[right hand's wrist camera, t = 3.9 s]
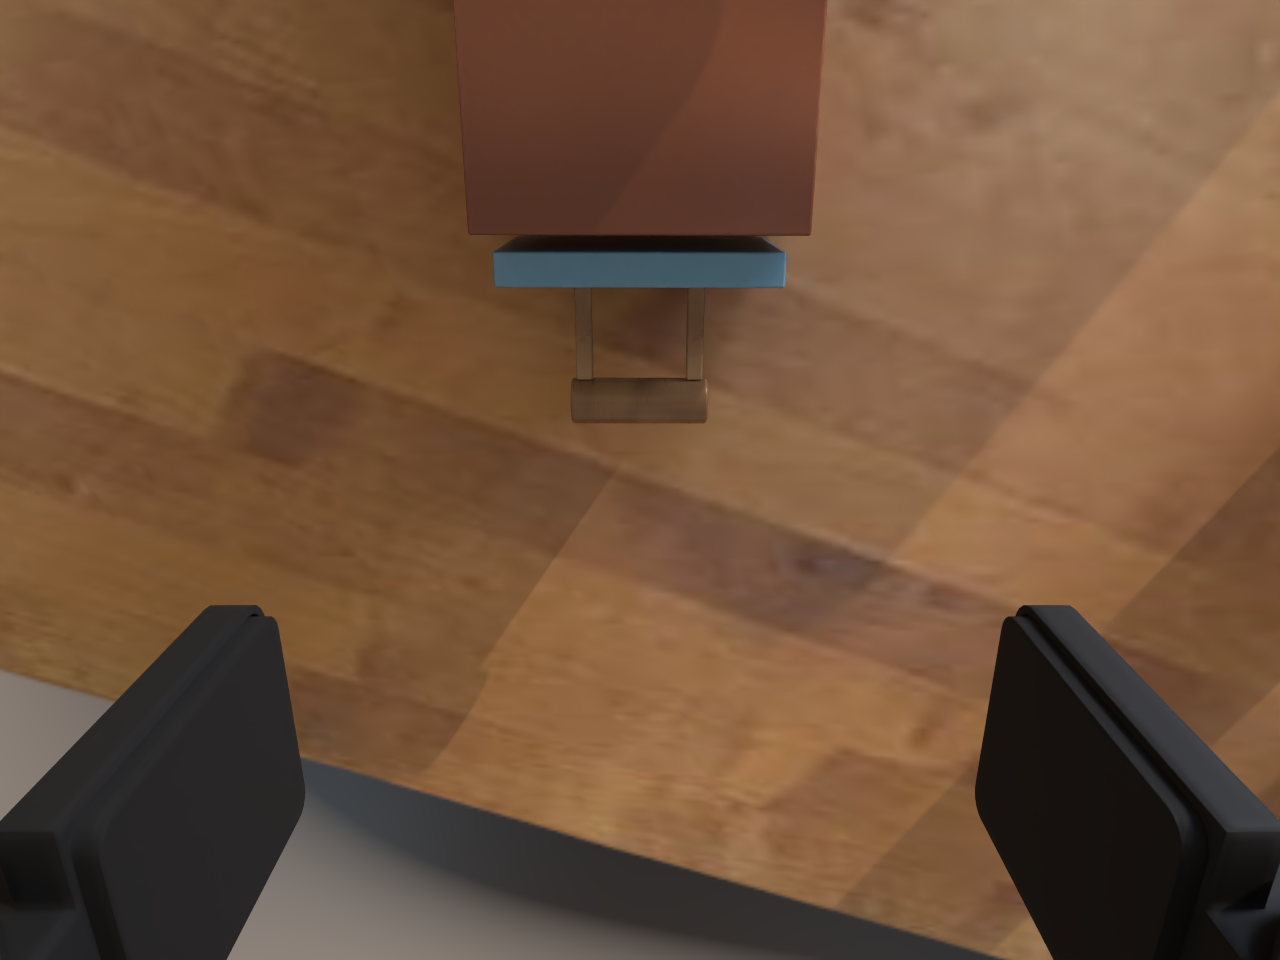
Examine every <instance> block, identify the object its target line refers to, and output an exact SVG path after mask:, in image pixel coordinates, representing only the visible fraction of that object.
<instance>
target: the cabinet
mask: <svg viewBox="0 0 1280 960" xmlns="http://www.w3.org/2000/svg"><path fill="white" fill-rule="evenodd" d="M453 5H454V20H455V36H456V51H457V67H458V82H459V97H460V113H461V128H462V144H463V159H464V174H465V190H466V205H467V221H468V233H469V234H470V235H713V236H809V235H810V234H811V228H812V213H813V199H814V184H815V170H816V155H817V141H818V127H819V112H820V98H821V83H822V69H823V54H824V40H825V26H826V11H827V0H453Z"/></svg>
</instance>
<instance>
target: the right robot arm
mask: <svg viewBox="0 0 1280 960" xmlns="http://www.w3.org/2000/svg"><path fill="white" fill-rule="evenodd" d="M304 799H305V785H304V779H303V773H302V767H301V761H300V755H299V749H298V743H297V737H296V731H295V725H294V719H293V713H292V707H291V701H290V695H289V689H288V683H287V677H286V671H285V665H284V659H283V653H282V647H281V641H280V635H279V629H278V625H277V622H276V620H275V619H274V618H273V617H265V616H264V613H263V612H262V610H261V608H260V607H258V606H257V605H214V606H209V607H208V608H206V609H205V610H204V611H203V612H202V613H201V614H200V615H199V616H198V617H197V618H196V619H195V620H194V621H193V622H192V623H191V624H190V625H189V626H188V627H187V628H186V629H185V630H184V632H183V633H182V634H181V635H180V636H179V637H178V638H177V639H176V640H175V641H174V642H173V643H172V644H171V645H170V646H169V647H168V648H167V649H166V650H165V651H164V652H163V653H162V654H161V655H160V656H159V657H158V658H157V659H156V660H155V662H154V663H153V664H152V665H151V666H150V667H149V668H148V669H147V670H146V671H145V672H144V673H143V674H142V675H141V676H140V677H139V678H138V679H137V680H136V681H135V682H134V683H133V684H132V685H131V686H130V687H129V688H128V689H127V690H126V692H125V693H124V694H123V695H122V696H121V697H120V698H119V699H118V700H117V701H116V702H115V703H114V704H113V705H112V706H111V707H110V708H109V709H108V710H107V711H106V712H105V713H104V714H103V715H102V716H101V718H99V719H98V721H97V722H96V723H95V724H94V725H93V726H92V727H91V728H90V729H89V730H88V731H87V732H86V733H85V734H84V735H83V736H82V737H81V738H80V739H79V740H78V741H77V742H76V743H75V744H74V745H73V746H72V747H71V748H70V750H68V752H67V753H66V754H65V755H64V756H63V757H62V758H61V759H60V760H59V761H58V762H57V763H56V764H55V765H54V766H53V767H52V768H51V769H50V770H49V771H48V772H47V773H46V774H45V775H44V776H43V777H42V778H41V779H40V781H39V782H38V783H37V784H36V785H35V786H34V787H33V788H32V789H31V790H30V791H29V792H28V793H27V794H26V795H25V796H24V797H23V798H22V799H21V800H20V801H19V802H18V803H17V804H16V805H15V806H14V807H13V808H12V809H11V811H10V812H9V813H8V814H7V815H6V816H5V817H4V818H3V819H2V820H1V821H0V960H227V957H228V956H229V954H230V952H231V950H232V948H233V946H234V944H235V942H236V940H237V938H238V936H239V934H240V932H241V930H242V929H243V926H244V925H245V923H246V921H247V919H248V917H249V915H250V913H251V911H252V909H253V907H254V905H255V903H256V901H257V899H258V898H259V896H260V894H261V892H262V890H263V888H264V886H265V884H266V882H267V880H268V878H269V876H270V874H271V872H272V870H273V869H274V867H275V865H276V863H277V861H278V859H279V857H280V855H281V853H282V851H283V849H284V847H285V845H286V843H287V841H288V839H289V838H290V836H291V834H292V832H293V830H294V828H295V826H296V824H297V822H298V820H299V818H300V816H301V813H302V810H303V806H304ZM975 799H976V806H977V810H978V813H979V816H980V818H981V820H982V822H983V824H984V826H985V828H986V830H987V832H988V834H989V836H990V838H991V840H992V841H993V843H994V845H995V847H996V849H997V851H998V853H999V855H1000V857H1001V859H1002V861H1003V863H1004V865H1005V867H1006V869H1007V870H1008V872H1009V874H1010V876H1011V878H1012V880H1013V882H1014V884H1015V886H1016V888H1017V890H1018V892H1019V894H1020V896H1021V898H1022V900H1023V901H1024V903H1025V905H1026V907H1027V909H1028V911H1029V913H1030V915H1031V917H1032V919H1033V921H1034V923H1035V925H1036V927H1037V929H1038V930H1039V932H1040V934H1041V936H1042V938H1043V940H1044V942H1045V944H1046V946H1047V948H1048V950H1049V952H1050V954H1051V956H1052V958H1053V960H1280V821H1279V820H1278V819H1277V818H1276V817H1275V816H1274V815H1273V814H1272V813H1271V812H1270V811H1269V809H1268V808H1267V807H1266V806H1265V805H1264V804H1263V803H1262V802H1261V801H1260V800H1259V799H1258V798H1257V797H1256V796H1255V795H1254V794H1253V793H1252V792H1251V791H1250V790H1249V789H1248V788H1247V787H1246V786H1245V785H1244V784H1243V783H1242V782H1241V781H1240V779H1239V778H1238V777H1237V776H1236V775H1235V774H1234V773H1233V772H1232V771H1231V770H1230V769H1229V768H1228V767H1227V766H1226V765H1225V764H1224V763H1223V762H1222V761H1221V760H1220V759H1219V758H1218V757H1217V756H1216V755H1215V754H1214V753H1213V752H1212V750H1211V749H1210V748H1209V747H1208V746H1207V745H1206V744H1205V743H1204V742H1203V741H1202V740H1201V739H1200V738H1199V737H1198V736H1197V735H1196V734H1195V733H1194V732H1193V731H1192V730H1191V729H1190V728H1189V727H1188V726H1187V725H1186V724H1185V723H1184V722H1183V720H1182V719H1181V718H1180V717H1179V716H1178V715H1177V714H1176V713H1175V712H1174V711H1173V710H1172V709H1171V708H1170V707H1169V706H1168V705H1167V704H1166V703H1165V702H1164V701H1163V700H1162V699H1161V698H1160V697H1159V696H1158V695H1157V694H1156V693H1155V692H1154V690H1153V689H1152V688H1151V687H1150V686H1149V685H1148V684H1147V683H1146V682H1145V681H1144V680H1143V679H1142V678H1141V677H1140V676H1139V675H1138V674H1137V673H1136V672H1135V671H1134V670H1133V669H1132V668H1131V667H1130V666H1129V665H1128V664H1127V663H1126V662H1125V660H1124V659H1123V658H1122V657H1121V656H1120V655H1119V654H1118V653H1117V652H1116V651H1115V650H1114V649H1113V648H1112V647H1111V646H1110V645H1109V644H1108V643H1107V642H1106V641H1105V640H1104V639H1103V638H1102V637H1101V636H1100V635H1099V634H1098V633H1097V632H1096V630H1095V629H1094V628H1093V627H1092V626H1091V625H1090V624H1089V623H1088V622H1087V621H1086V620H1085V619H1084V618H1083V617H1082V616H1081V615H1080V614H1079V613H1078V612H1077V611H1076V610H1075V609H1074V608H1072V607H1071V606H1066V605H1023V606H1022V607H1020V608H1019V610H1018V612H1017V613H1016V616H1015V617H1007V618H1006V619H1005V620H1004V622H1003V625H1002V629H1001V635H1000V641H999V647H998V653H997V659H996V665H995V671H994V677H993V683H992V689H991V695H990V701H989V707H988V713H987V719H986V725H985V731H984V737H983V743H982V749H981V755H980V761H979V767H978V773H977V779H976V785H975Z"/></svg>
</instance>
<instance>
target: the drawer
mask: <svg viewBox="0 0 1280 960" xmlns="http://www.w3.org/2000/svg"><path fill="white" fill-rule="evenodd" d="M786 257H787V254H786V252H784V251H783V250H781V249H779V248H778V247H776V246H775V245H773V244H772V243H770V242H769V241H767V240H766V239H764V238H762V237H516V238H515V239H513V240H511V241H510V242H508V243H507V244H505V245H504V246H502V247H500V248H499V249H497V250H496V251H494V252H493V268H494V285H495V287H545V288H575V329H576V371H577V378H573V379H572V383H571V417H572V421H573V422H574V423H706V421H707V414H708V384H707V380H706V379H705V378H702V368H703V333H704V298H705V288H783V287H784V286H785V274H786ZM592 288H687V334H686V378H593V327H592Z"/></svg>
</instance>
